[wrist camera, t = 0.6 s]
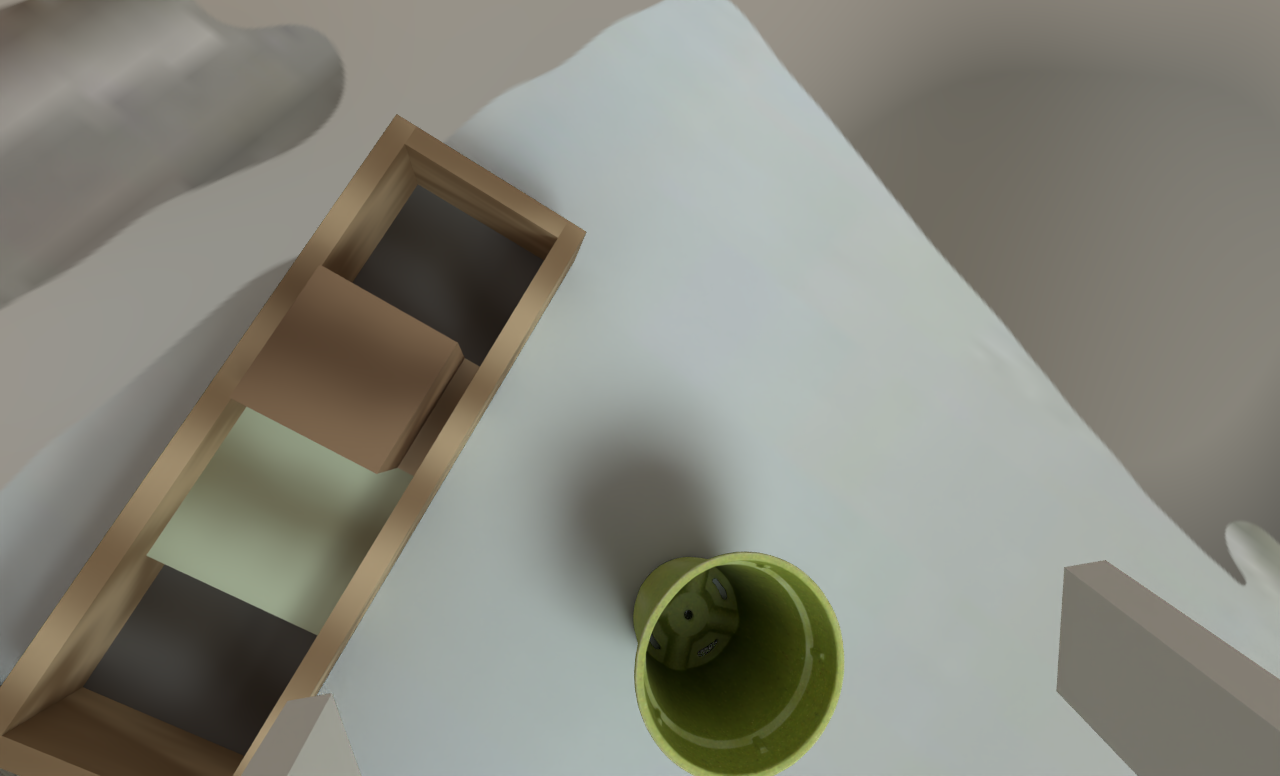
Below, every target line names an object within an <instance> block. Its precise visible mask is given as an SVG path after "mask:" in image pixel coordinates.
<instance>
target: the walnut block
mask: <svg viewBox="0 0 1280 776" xmlns="http://www.w3.org/2000/svg"><path fill="white" fill-rule="evenodd" d="M464 359H465V358H464V355H463V353H462V351H461V349H460V346H459V344H458V342H456V341H454V340H452V339H450V338H449V337H447V336H445V335H443V334H442V333H440V332H438V331H436V330H435V329H433V328H431V327H429V326H428V325H426V324H424V323H422V322H420V321H419V320H417V319H415V318H413V317H412V316H410V315H408V314H406V313H405V312H403V311H401V310H399V309H398V308H396V307H394V306H392V305H390V304H389V303H387V302H385V301H383V300H382V299H380V298H378V297H376V296H375V295H373V294H371V293H369V292H368V291H366V290H364V289H362V288H360V287H359V286H357V285H355V284H353V283H352V282H350V281H348V280H346V279H345V278H343V277H341V276H339V275H338V274H336V273H334V272H332V271H330V270H329V269H327V268H325V267H323V266H322V265H319V266H318V268H317V269H316V271H315V272H314V273H313V275H312V276H311V278H310V279H309V281H308V282H307V284H306V285H305V287H304V288H303V290H302V291H301V293H300V294H299V295H298V297H297V298H296V300H295V301H294V303H293V304H292V306H291V307H290V309H289V310H288V312H287V313H286V315H285V316H284V317H283V319H282V320H281V322H280V323H279V325H278V326H277V328H276V329H275V331H274V332H273V334H272V335H271V337H270V338H269V339H268V341H267V342H266V344H265V345H264V347H263V348H262V350H261V351H260V353H259V354H258V356H257V357H256V359H255V360H254V361H253V363H252V364H251V366H250V367H249V369H248V370H247V372H246V373H245V375H244V376H243V378H242V379H241V381H240V382H239V383H238V385H237V386H236V388H235V389H234V391H233V392H232V394H231V395H230V397H229V398H231V399H233V400H235V401H237V402H239V403H241V404H243V405H245V406H246V407H248V408H250V409H252V410H254V411H256V412H258V413H260V414H262V415H264V416H266V417H268V418H270V419H272V420H273V421H275V422H277V423H279V424H281V425H283V426H285V427H287V428H289V429H291V430H293V431H295V432H297V433H299V434H301V435H302V436H304V437H306V438H308V439H310V440H312V441H314V442H316V443H318V444H320V445H322V446H324V447H326V448H328V449H329V450H331V451H333V452H335V453H337V454H339V455H341V456H343V457H345V458H347V459H349V460H351V461H353V462H355V463H356V464H358V465H360V466H362V467H364V468H366V469H368V470H370V471H372V472H374V473H376V474H378V473H382V472H385V471H389V470H392V469H395V468H398V466H399V465H400V463H401V462H402V460H403V458H404V457H405V455H406V453H407V452H408V450H409V448H410V447H411V445H412V444H413V442H414V440H415V439H416V437H417V435H418V434H419V432H420V430H421V429H422V427H423V426H424V424H425V422H426V421H427V419H428V417H429V416H430V414H431V412H432V411H433V409H434V408H435V406H436V404H437V403H438V401H439V399H440V398H441V396H442V394H443V393H444V391H445V390H446V388H447V386H448V385H449V383H450V381H451V380H452V378H453V376H454V375H455V373H456V372H457V370H458V368H459V367H460V365H461V363H462V362H463V360H464Z"/></svg>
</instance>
